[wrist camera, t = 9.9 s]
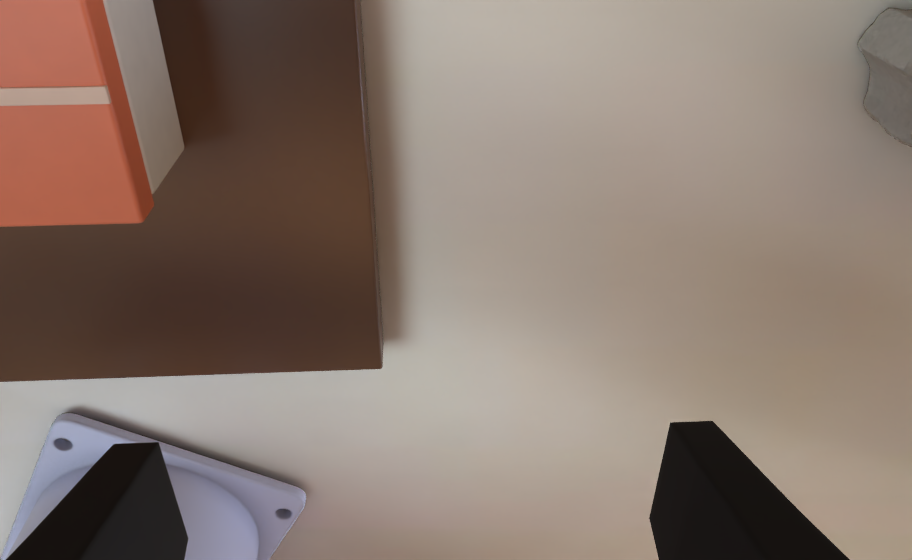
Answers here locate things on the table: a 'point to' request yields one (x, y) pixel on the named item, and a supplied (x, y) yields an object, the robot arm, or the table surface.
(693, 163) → the table surface
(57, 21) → the salmon nigiri
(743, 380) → the table surface
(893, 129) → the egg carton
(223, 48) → the serving board
